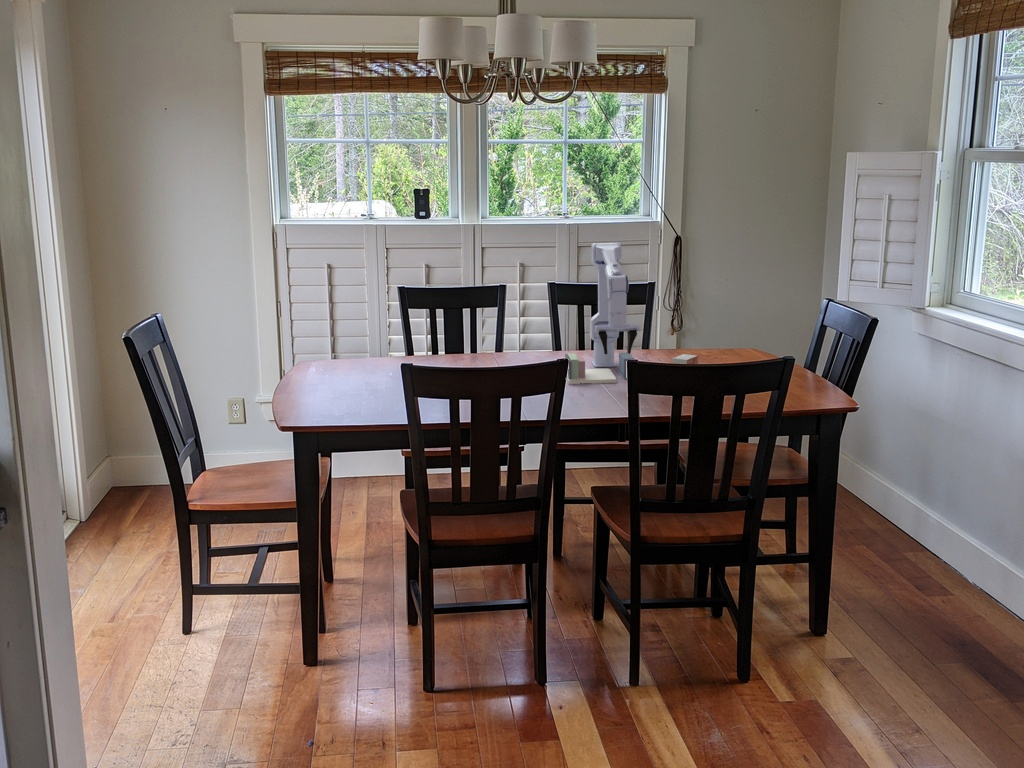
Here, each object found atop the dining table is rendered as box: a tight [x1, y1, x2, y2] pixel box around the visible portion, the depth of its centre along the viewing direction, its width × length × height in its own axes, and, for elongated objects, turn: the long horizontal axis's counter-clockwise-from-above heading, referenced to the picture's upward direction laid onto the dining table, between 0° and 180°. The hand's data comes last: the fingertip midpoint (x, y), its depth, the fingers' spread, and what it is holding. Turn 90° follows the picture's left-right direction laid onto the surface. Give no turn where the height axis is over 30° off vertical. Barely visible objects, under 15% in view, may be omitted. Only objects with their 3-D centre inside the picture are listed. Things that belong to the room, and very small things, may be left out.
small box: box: [670, 353, 699, 365], centre depth 314 cm, size 8×6×10 cm
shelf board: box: [566, 367, 618, 385], centre depth 332 cm, size 16×16×1 cm
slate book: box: [618, 352, 635, 380], centre depth 334 cm, size 10×4×7 cm, turn 4°
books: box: [566, 352, 586, 379], centre depth 331 cm, size 10×5×6 cm, turn 3°
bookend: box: [564, 353, 571, 379], centre depth 331 cm, size 12×1×6 cm, turn 3°
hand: (617, 353), depth 322 cm, fingers open, 7 cm apart
